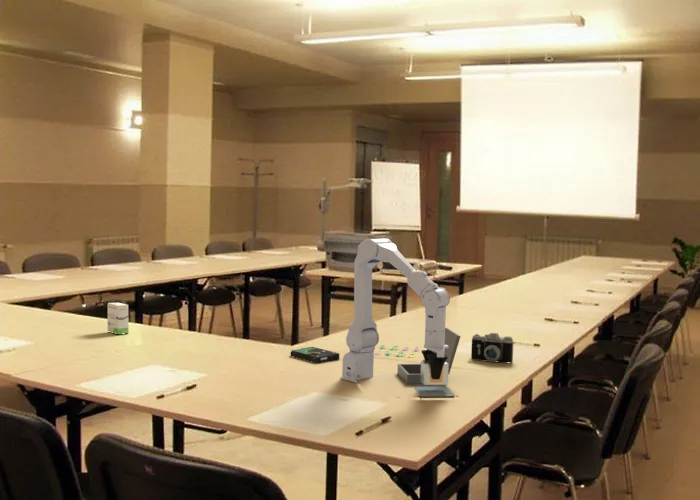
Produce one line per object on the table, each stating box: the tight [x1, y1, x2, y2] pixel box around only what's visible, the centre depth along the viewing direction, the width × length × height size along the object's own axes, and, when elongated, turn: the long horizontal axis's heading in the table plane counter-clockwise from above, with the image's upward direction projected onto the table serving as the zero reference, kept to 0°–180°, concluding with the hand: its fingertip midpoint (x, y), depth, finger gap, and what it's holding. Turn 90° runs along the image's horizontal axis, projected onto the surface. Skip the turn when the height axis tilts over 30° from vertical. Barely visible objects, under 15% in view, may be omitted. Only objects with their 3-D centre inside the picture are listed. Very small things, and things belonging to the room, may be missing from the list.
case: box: [397, 327, 461, 386], centre depth 235 cm, size 16×15×16 cm
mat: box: [412, 385, 455, 399], centre depth 221 cm, size 10×10×1 cm
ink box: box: [107, 302, 129, 334], centre depth 300 cm, size 9×5×12 cm, turn 45°
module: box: [420, 360, 449, 386], centre depth 220 cm, size 7×5×6 cm
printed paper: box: [375, 344, 426, 358], centre depth 279 cm, size 30×30×2 cm
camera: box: [470, 332, 514, 363], centre depth 267 cm, size 15×7×10 cm, turn 66°
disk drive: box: [290, 346, 340, 364], centre depth 265 cm, size 10×3×15 cm
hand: (433, 376), depth 220 cm, fingers closed on module, 5 cm apart
